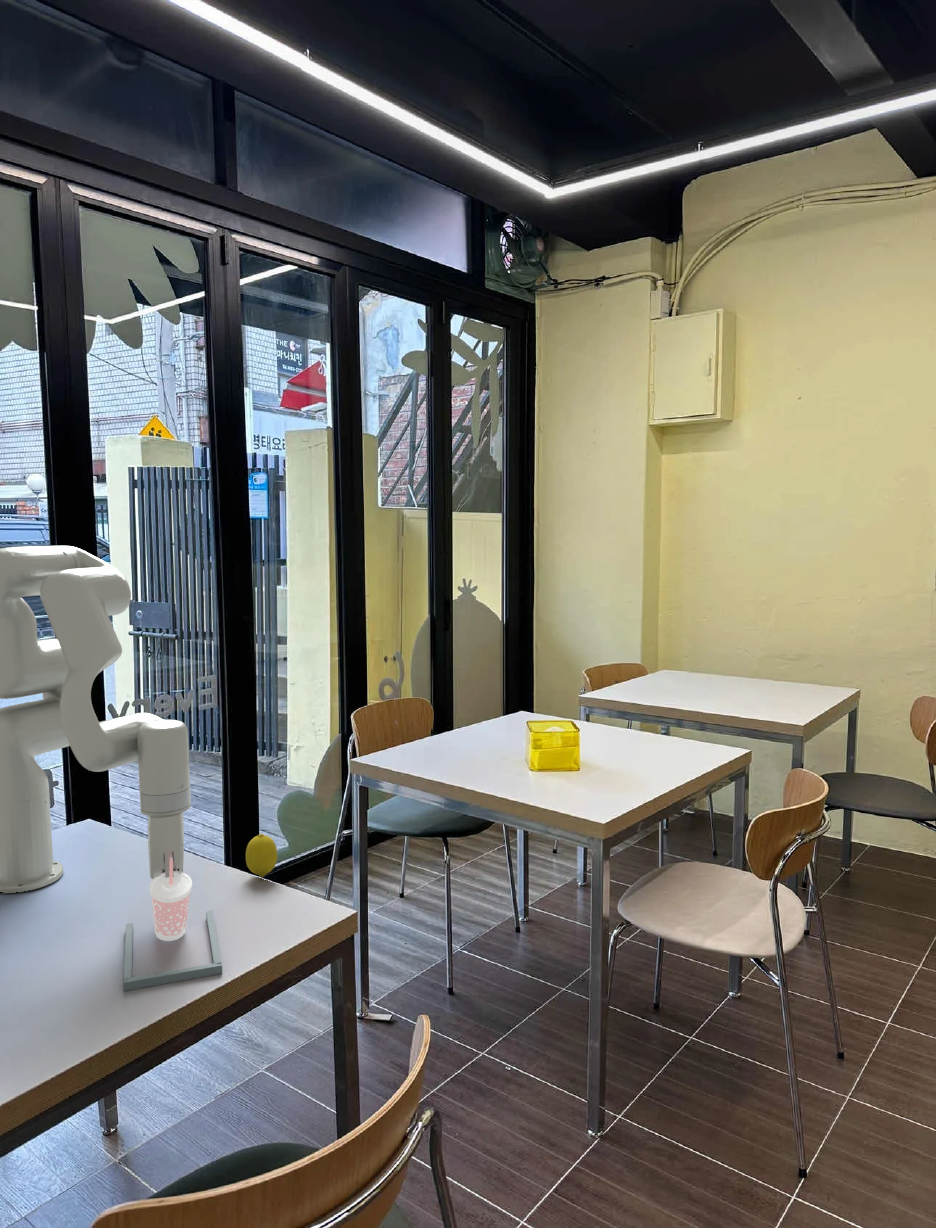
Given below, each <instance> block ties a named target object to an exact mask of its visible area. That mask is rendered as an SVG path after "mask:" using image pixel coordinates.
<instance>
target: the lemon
mask: <svg viewBox="0 0 936 1228" xmlns="http://www.w3.org/2000/svg"><path fill="white" fill-rule="evenodd" d="M277 849H278V848H277V846H276V843H275V841H274V839H273V838H271V837H270V836H268V835H265V834H263V833H259V834H258V835H256V836H254V837H253V838H252V839H251V840H250V841H249V842H248V843H247V846H246V849H245V863H246V866H247V868H248V870H249V871H250V872H252V874H255V875H258V876H259V877H260V878H264V877H265V876H266V875H267V874H269V873H271V872H272V871H273V869H274V868H275V867H276V865H277V861H278V850H277Z"/></svg>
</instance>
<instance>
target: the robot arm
mask: <svg viewBox="0 0 936 1228" xmlns="http://www.w3.org/2000/svg"><path fill="white" fill-rule="evenodd" d="M35 596H36V597H37V596H40V601H41V603H42V606H43V608H44V611H45V613H46V615H47V618H48V620H49V623H50V625H51V627H52V631H53V632H54V635H55V638H46V639H41V640H40V639H38V638H39V637H38V625H37V618H36V616H35V614H34V611H33V610H32V608H31V606H30V605H29V604H28V603H27V602H26V601H25V600H24V598H23V597H35ZM131 598H132V593H131V588H130V585H129V582H128V581H127V578H126V576H124V575H123V574H122V572H120V570H118V569H117V568H116V567H115V566H113V565H112V564H110V563H108V562H106V561H104V560H103V559H100V558H99V557H97V556H95V555H93V554H91V553H89V552H87V551H86V550H83V549H81V548H78V547H77V546H76V547H75V546H71V545H37V546H36V545H34V546H33V545H28V546H27V545H26V546H9V547H1V548H0V699H1V700H9V699H20V698H25V697H29V696H34V695H40V694H42V699H37V700H33V701H28V702H22V703H18V704H12V705H8V706H4V707H0V892H3V893H2V894H17V893H16V892H18V893H25V892H30V891H33V890H37V889H41V888H44V887H46V886H49V885H50V884H53V883H54V882H56V881H58V880H59V879H60V878H61V877H62V876H63V874H64V866H63V864H62V863H60V862H58V861H57V860H54V854H53V853H54V852H53V837H52V836H53V835H52V833H53V832H52V820H51V819H52V818H51V800H50V799H51V798H50V784H49V778H48V776H47V774H46V772H45V771H44V770H43V768H42V767H41V766H40V764H38V762H36V759H35V757H36V756H39V755H42V754H46V753H49V752H53V751H56V750H60V749H63V748H67V747H70V750H71V751H72V753H73V755H74V757H75V759H76V760H77V762H78V763H79V764H80V765H81V766H82V767H83V768H84V769H86V770H88V771H89V772H90V771H91V772H97V773H98V772H99V773H100V772H105V771H108V770H113V769H117V768H118V767H123V766H125V765H128V764H133V763H138V784H139V785H138V786H139V787H138V788H139V808H140V811H139V812H140V814H142V815H144V816H147V847H148V865H149V866H148V867H149V877H150V879H151V880H153V879H154V878H155V877H159V875H160V874H161V873H164V872H165V878H167V877H169V869H170V857H173V871H179V873H177V874H179V875H180V874H181V873H182V872H183V873H184V861H185V860H184V859H185V858H184V857H185V830H184V828H185V827H184V826H185V823H184V822H185V821H184V813H185V812H186V811H188V810H190V808H191V806H192V801H191V800H192V799H191V797H192V796H191V795H192V794H191V777H190V776H191V771H190V769H191V768H190V749H189V746H190V745H189V729H188V727H187V725H186V724H185V722H183V721H181V720H178V719H177V720H176V719H164V718H161V717H159V716H157V715H155V714H152V713H149V712H137V713H132V714H129V715H125V716H119V717H115V718H111V719H110V718H109V719H107V720H102V721H99V720H98V716H97V715H96V713H95V710H94V707H93V704H92V703H93V702H92V694H91V693H92V688H93V683H94V681H95V679H96V677H97V676H98V675H99V674H100V673H101V672H102V671H104V670H106V669H108V668H109V667H110V666H113V664H114V663H116V662H117V661H118V660H119V658H121V656H122V653H123V648H122V644H121V642H120V639H119V638H118V636H117V633H116V631H115V628H114V627H113V624H112V621H111V620H110V619H111V618H110V616H116V615H119V614H122V613H124V612H125V611H126V610H127V609H128V608H129V605H130V604H131ZM173 877H174V874H173ZM29 890H30V891H29ZM24 891H25V892H24Z"/></svg>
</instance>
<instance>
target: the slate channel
mask: <svg viewBox="0 0 936 1228" xmlns="http://www.w3.org/2000/svg"><path fill="white" fill-rule="evenodd" d="M205 914H206V915H205V916H206V924H207V931H208V938H209V944H210V952H211V956H212V957H211V959H212V963H208V964H203V965H202V964H201V965H196V966H191V967H184V968H180V969H173V970H168V971H163V972H158V973H157V972H155V973H151V974H145V975H140V976H139V975H138V976H135V977H133V953H134V952H133V951H134V950H133V949H134V923H133V922H130V923H129V922H127V923H125V940H124V963H123V983H122V986H123V992H126V991H132V990H133V991H134V990H137V989H143V988H148V987H153V986H154V987H155V986H161V985H166V984H171V983H176V982H181V981H182V982H183V981H187V980H193V979H198V978H203V977H208V976H209V977H211V976H216V975H221V974H223V963H222V957H221V952H220V951H221V950H220V946H219V940H218V935H217V934H218V933H217V928H216V924H215V923H216V922H215V917H214V911H213V910H206V911H205Z"/></svg>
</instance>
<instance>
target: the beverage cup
mask: <svg viewBox="0 0 936 1228" xmlns="http://www.w3.org/2000/svg"><path fill="white" fill-rule="evenodd" d="M177 873H179V871H173V857H170V869H169V877H167V878H165V872H164V873H161V874H160V875H159V877H155V878H154V879H151V881H150V883H149V894H150V896H151V901H152V914H153V924H154V934H155V936H156V937H157V938H158V939H159V940H160V941H165V942H173V941H176V940H179V939H180V938H181V937H182V938H183V936H184V935H185V933H186V931H187V924H188V923H187V922H188V914H189V904H190V893H191V892H192V887H193V879H192V878H191V876H190V875H188V874H187V873H185V872H184V871H183V872H182V873H181V874H180V875H179V874H177ZM173 874H174V877H173Z"/></svg>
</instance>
